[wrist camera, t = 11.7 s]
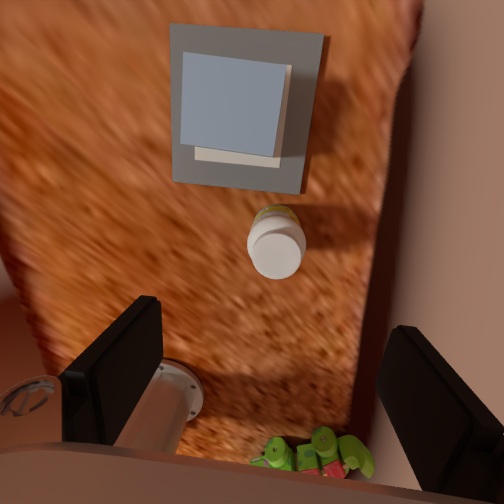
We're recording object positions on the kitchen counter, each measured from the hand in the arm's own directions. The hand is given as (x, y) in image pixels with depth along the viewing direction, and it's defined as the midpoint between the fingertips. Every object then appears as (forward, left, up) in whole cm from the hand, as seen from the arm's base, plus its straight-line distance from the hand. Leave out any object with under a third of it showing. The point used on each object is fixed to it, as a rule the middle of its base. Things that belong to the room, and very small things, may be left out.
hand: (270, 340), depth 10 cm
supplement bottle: (0, 0, -20) cm, 20 cm away
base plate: (+11, +5, -20) cm, 23 cm away
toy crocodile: (-36, -10, -20) cm, 43 cm away
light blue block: (+11, +5, -19) cm, 22 cm away
